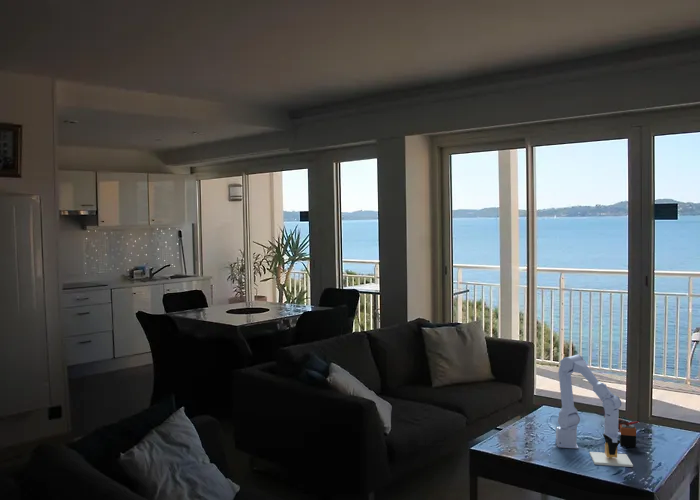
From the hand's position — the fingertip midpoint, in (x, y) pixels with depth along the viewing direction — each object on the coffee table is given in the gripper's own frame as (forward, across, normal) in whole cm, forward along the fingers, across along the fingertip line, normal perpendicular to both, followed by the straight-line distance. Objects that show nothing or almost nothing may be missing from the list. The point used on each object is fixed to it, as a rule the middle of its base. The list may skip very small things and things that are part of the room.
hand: (610, 452), depth 281 cm
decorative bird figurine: (+4, +37, -13) cm, 39 cm away
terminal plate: (+4, 0, 0) cm, 4 cm away
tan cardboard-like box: (+1, 0, 0) cm, 1 cm away
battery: (+4, +20, -12) cm, 24 cm away
